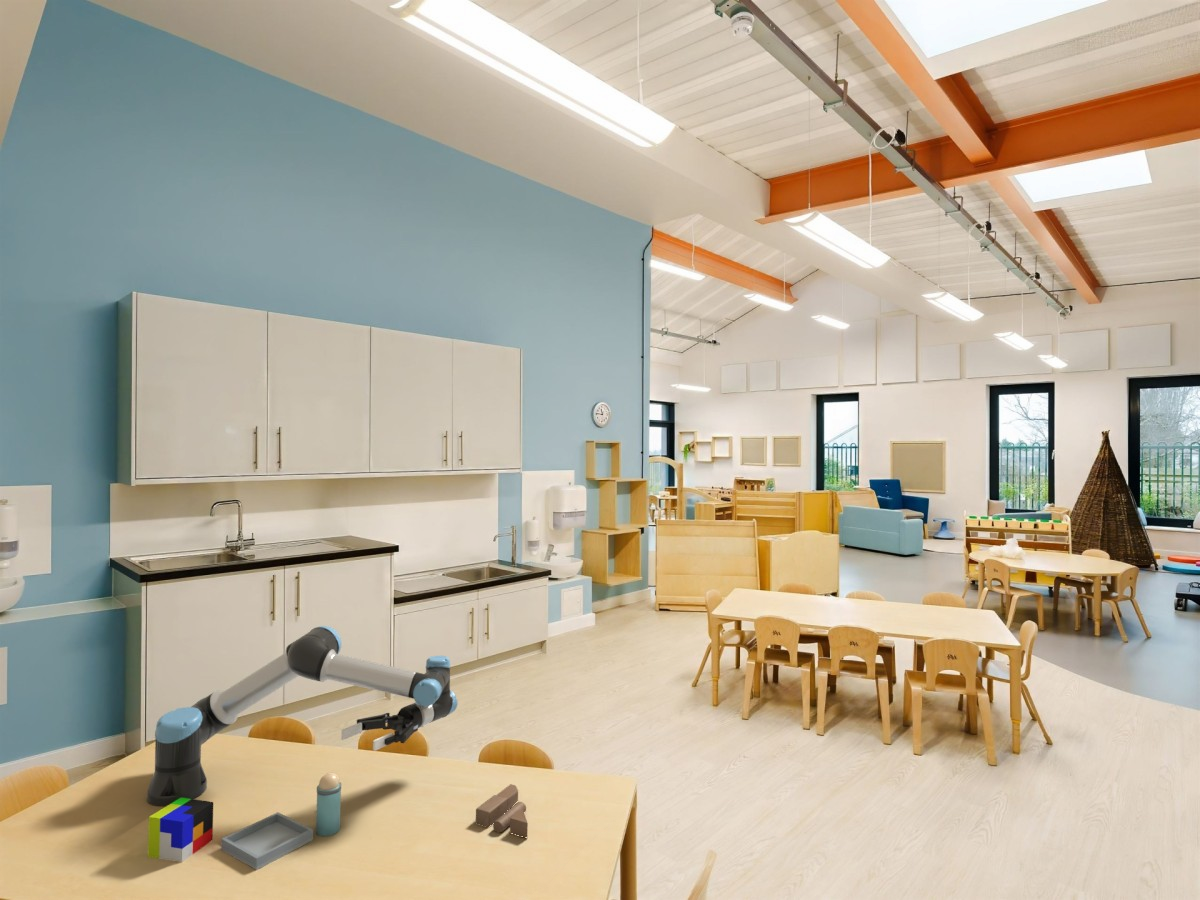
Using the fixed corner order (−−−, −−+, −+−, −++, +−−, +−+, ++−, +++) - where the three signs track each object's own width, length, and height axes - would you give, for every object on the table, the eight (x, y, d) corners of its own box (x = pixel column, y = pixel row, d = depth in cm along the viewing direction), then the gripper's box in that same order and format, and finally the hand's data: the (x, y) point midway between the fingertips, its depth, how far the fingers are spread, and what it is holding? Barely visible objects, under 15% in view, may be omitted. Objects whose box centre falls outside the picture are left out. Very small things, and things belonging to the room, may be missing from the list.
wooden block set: (473, 806, 188) (509, 779, 204) (473, 827, 188) (509, 798, 204) (525, 821, 181) (558, 792, 197) (525, 843, 181) (558, 811, 197)
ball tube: (310, 831, 183) (312, 775, 183) (330, 821, 189) (331, 766, 189) (325, 839, 180) (326, 781, 180) (345, 828, 185) (346, 772, 185)
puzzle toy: (181, 862, 169) (182, 821, 169) (147, 856, 171) (148, 816, 171) (212, 840, 179) (213, 802, 179) (179, 835, 181) (180, 797, 181)
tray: (221, 849, 174) (221, 838, 174) (277, 822, 188) (277, 812, 188) (256, 870, 166) (256, 858, 166) (313, 840, 179) (313, 829, 179)
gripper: (444, 737, 204) (387, 764, 186) (387, 719, 217) (329, 743, 199) (444, 711, 204) (387, 736, 186) (387, 696, 217) (329, 717, 199)
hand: (357, 740), depth 192 cm, fingers open, 13 cm apart
